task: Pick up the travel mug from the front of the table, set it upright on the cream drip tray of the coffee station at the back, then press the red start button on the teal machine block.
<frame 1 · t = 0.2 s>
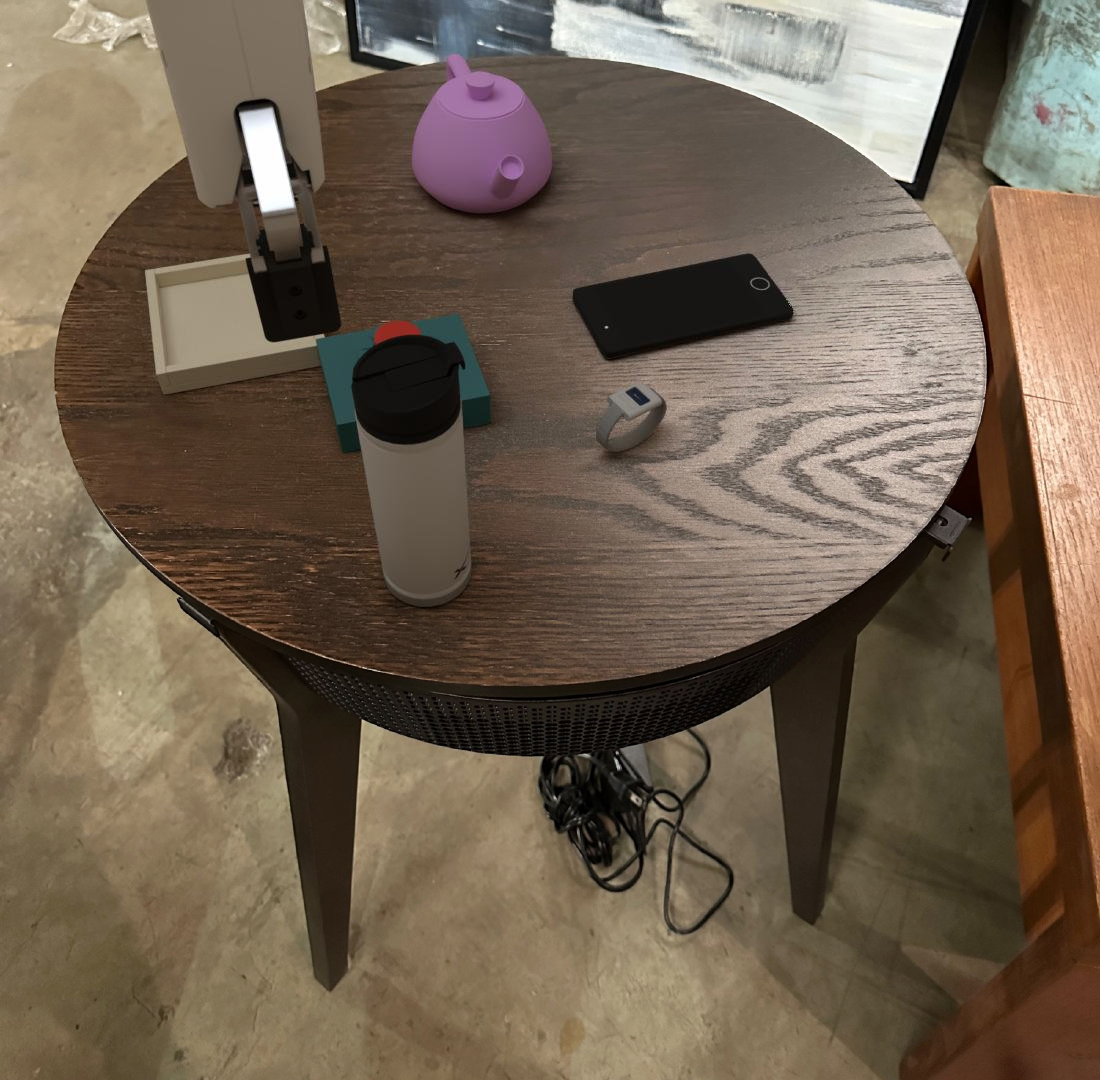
hand: (287, 263, 46), 30 cm above the table, tool pointing down, fingers open, 9 cm apart
drip tray: (238, 326, 89), on the table
wristwatch: (628, 444, 82), on the table
machine block: (404, 395, 84), on the table
cell phone: (681, 310, 92), on the table
start button: (398, 344, 80), point 5 cm above the table, slide at 0.1 cm
travel mug: (430, 573, 74), on the table
teapot: (485, 186, 103), on the table
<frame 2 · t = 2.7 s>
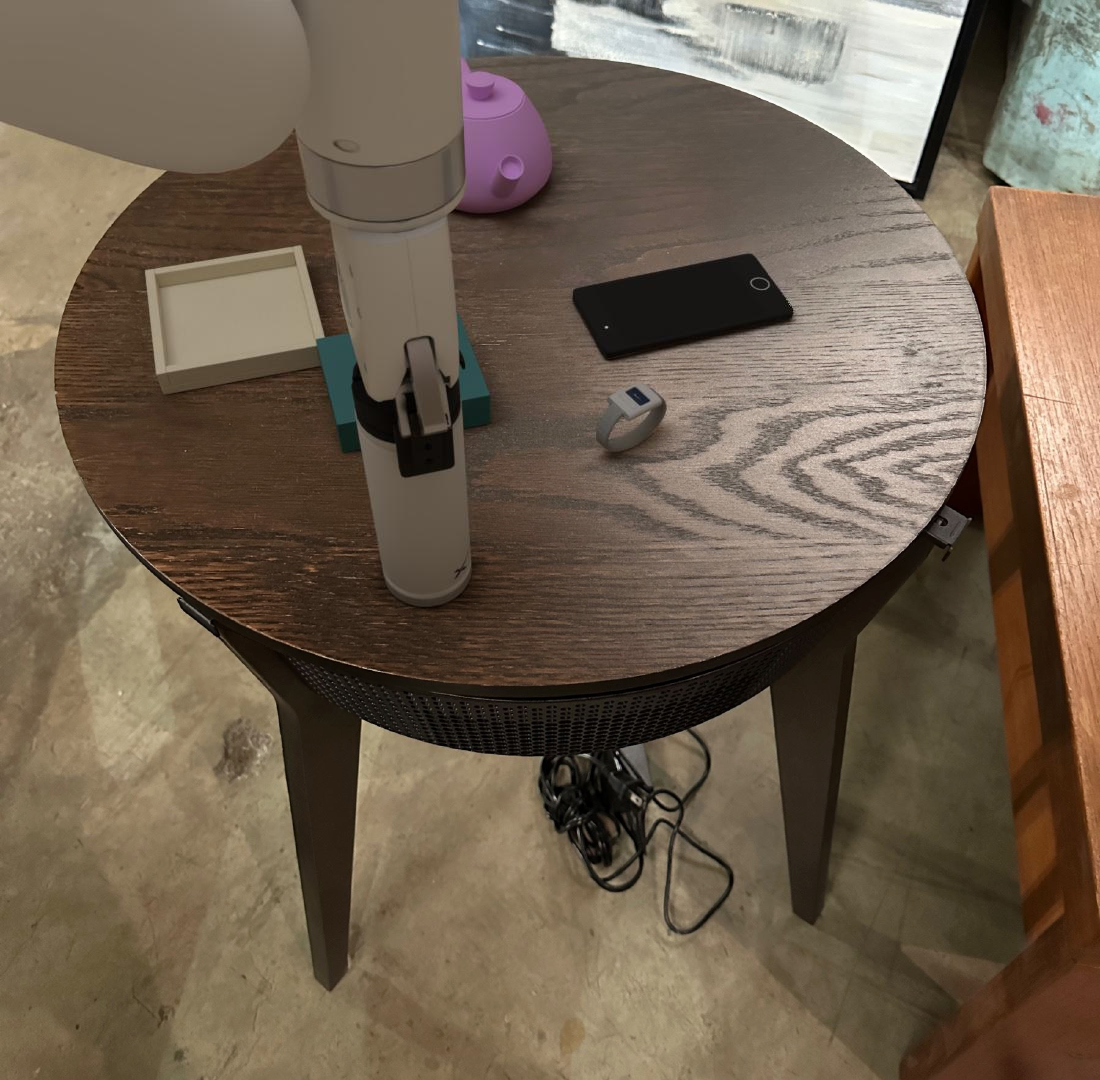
hand: (413, 425, 62), 15 cm above the table, tool pointing down, fingers closed on travel mug, 6 cm apart
travel mug: (430, 573, 74), on the table, touching gripper
everything else where it was.
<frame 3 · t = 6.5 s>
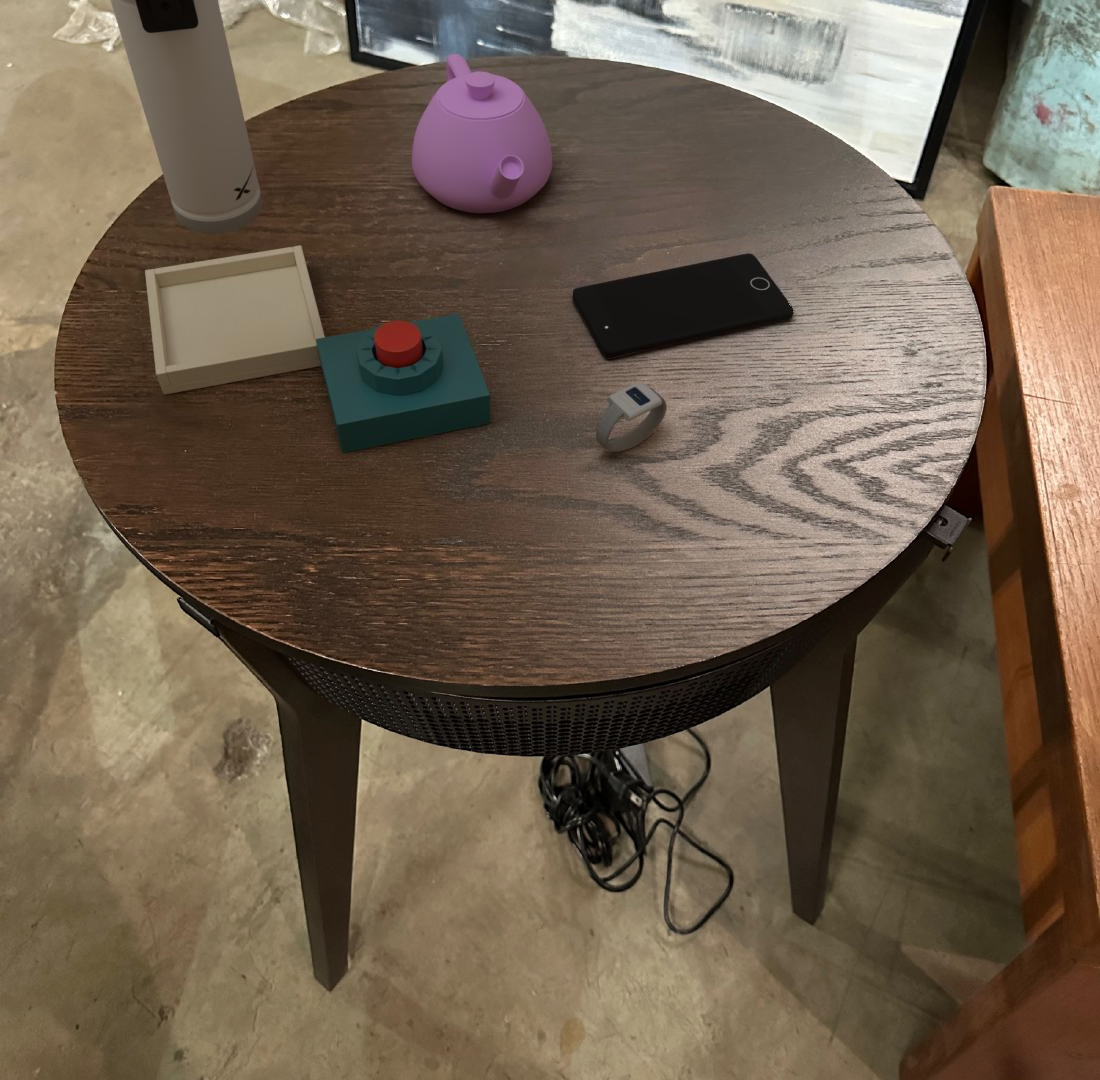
travel mug: (222, 211, 75), point 14 cm above the table, touching gripper
everything else where it was.
when the fingers open (16 cm above the table, at t = 10.4 s): travel mug stays where it is, resting on drip tray.
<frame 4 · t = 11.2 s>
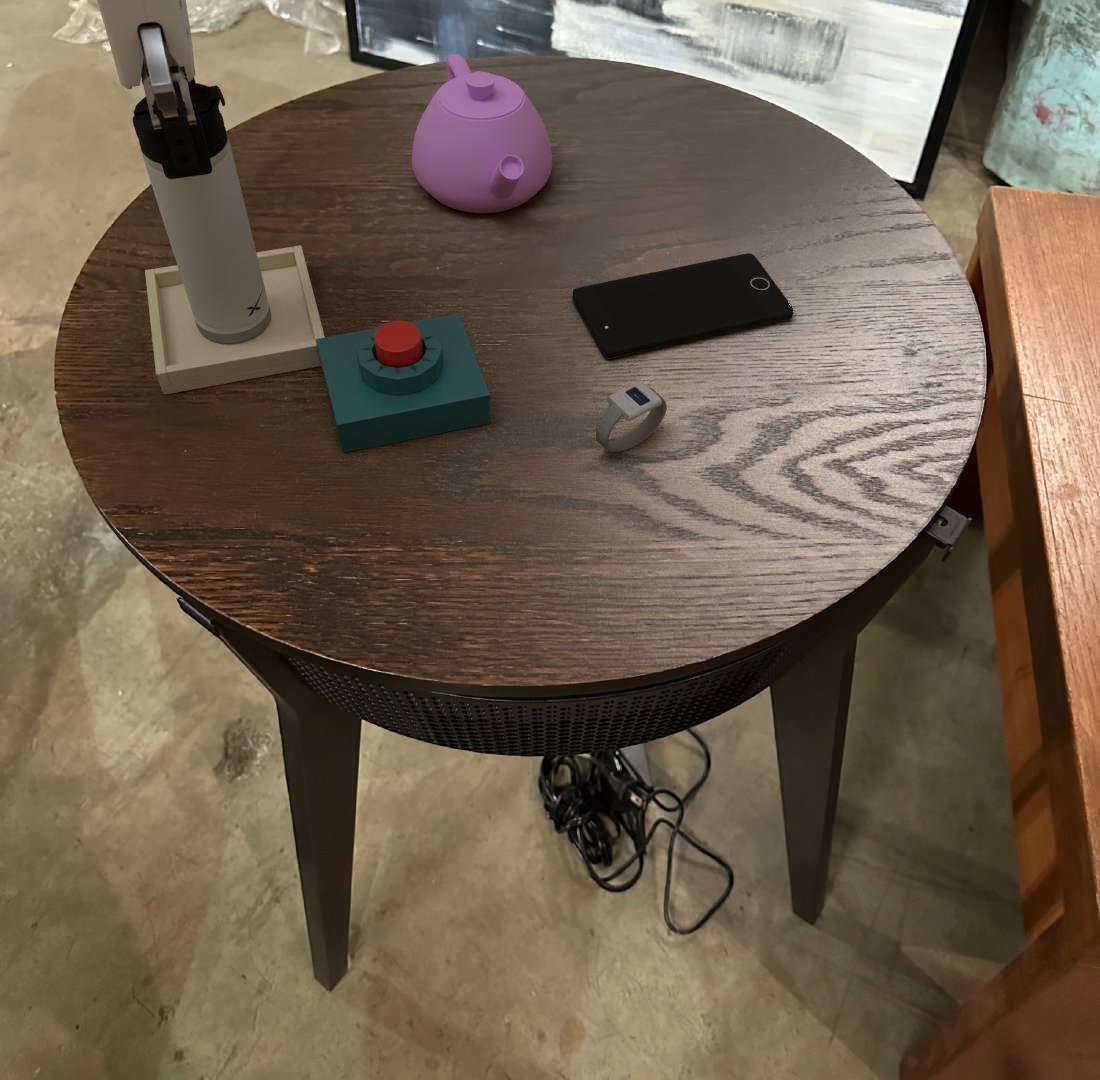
hand: (183, 137, 74), 18 cm above the table, tool pointing down, fingers open, 9 cm apart
travel mug: (237, 321, 88), point 1 cm above the table, touching drip tray
everything else where it was.
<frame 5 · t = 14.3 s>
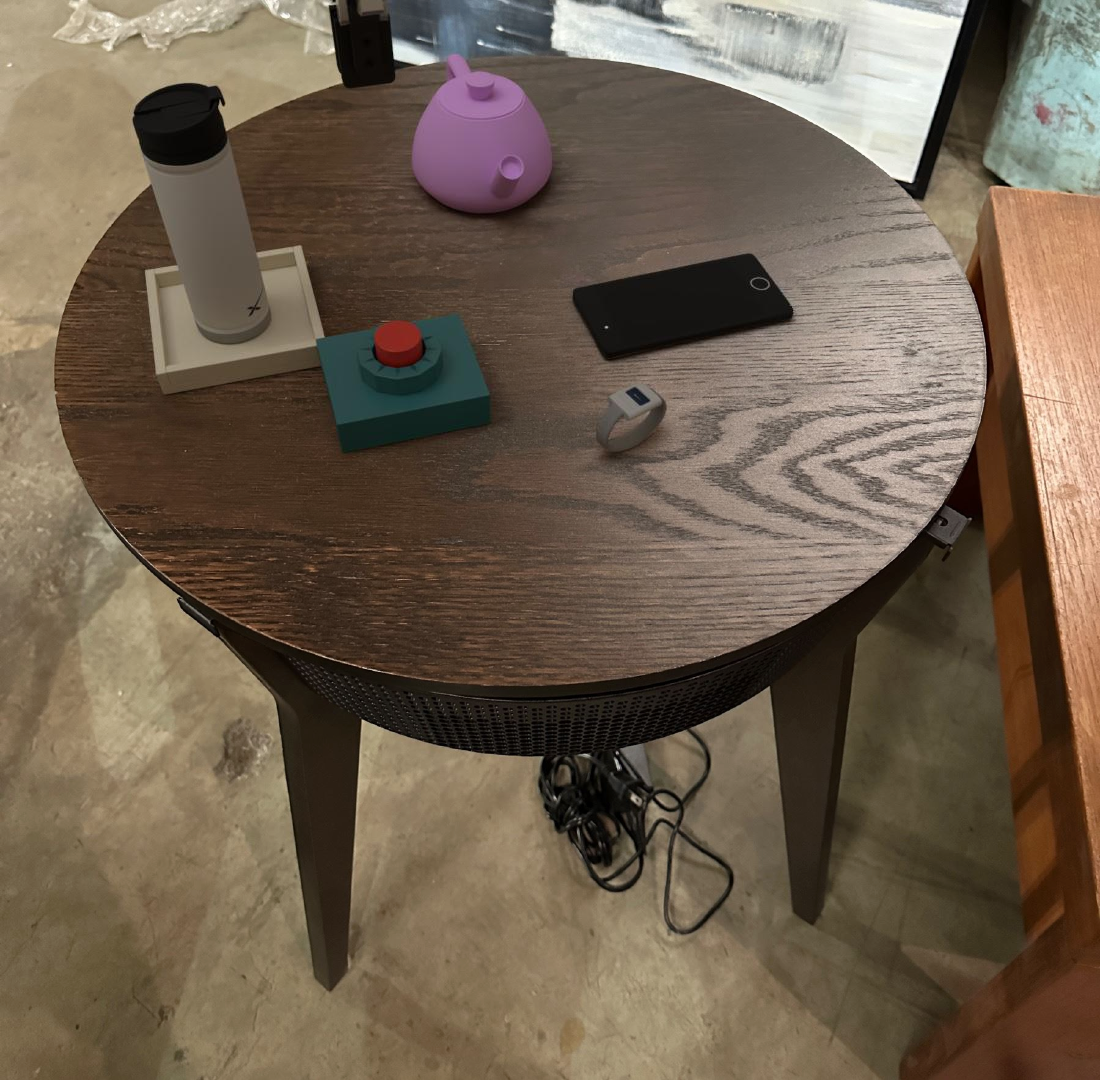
hand: (366, 75, 63), 27 cm above the table, tool pointing down, fingers closed
nothing on the table moved.
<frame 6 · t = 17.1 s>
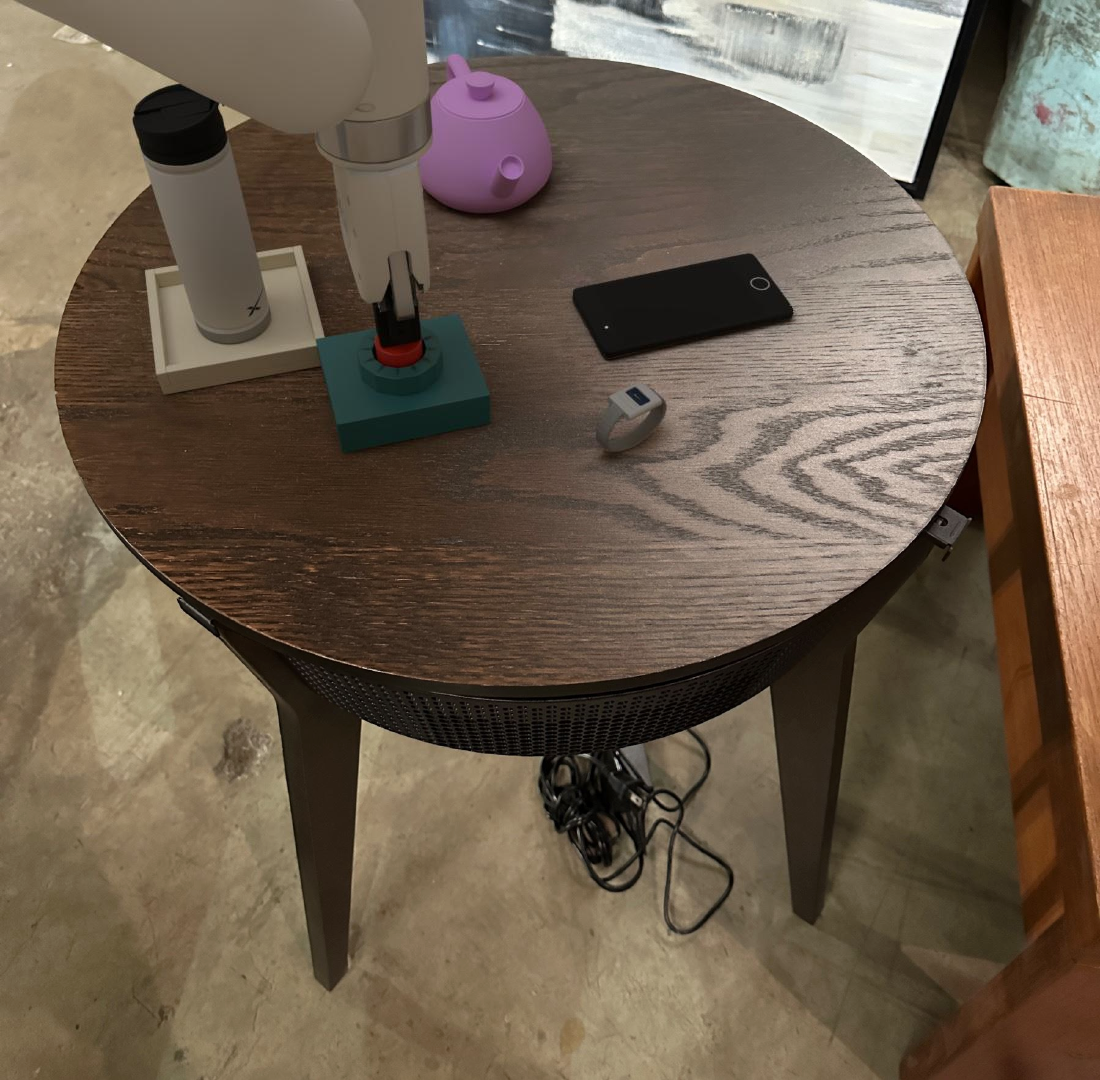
hand: (399, 337, 80), 6 cm above the table, tool pointing down, fingers closed
start button: (398, 347, 80), point 5 cm above the table, slide at -0.2 cm, touching gripper
everything else where it was.
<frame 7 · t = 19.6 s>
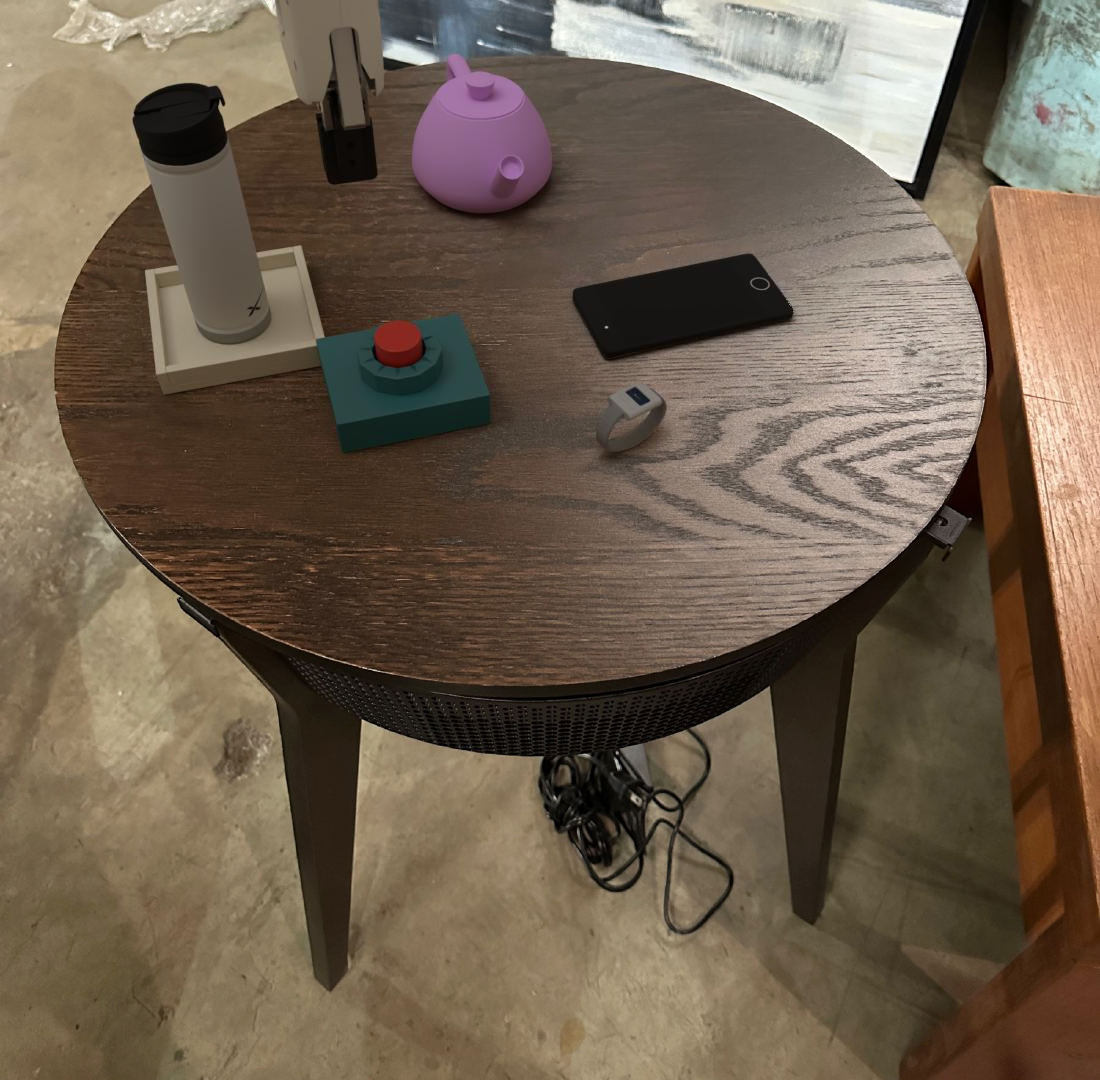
hand: (351, 174, 66), 21 cm above the table, tool pointing down, fingers closed
start button: (398, 344, 80), point 5 cm above the table, slide at 0.1 cm
everything else where it was.
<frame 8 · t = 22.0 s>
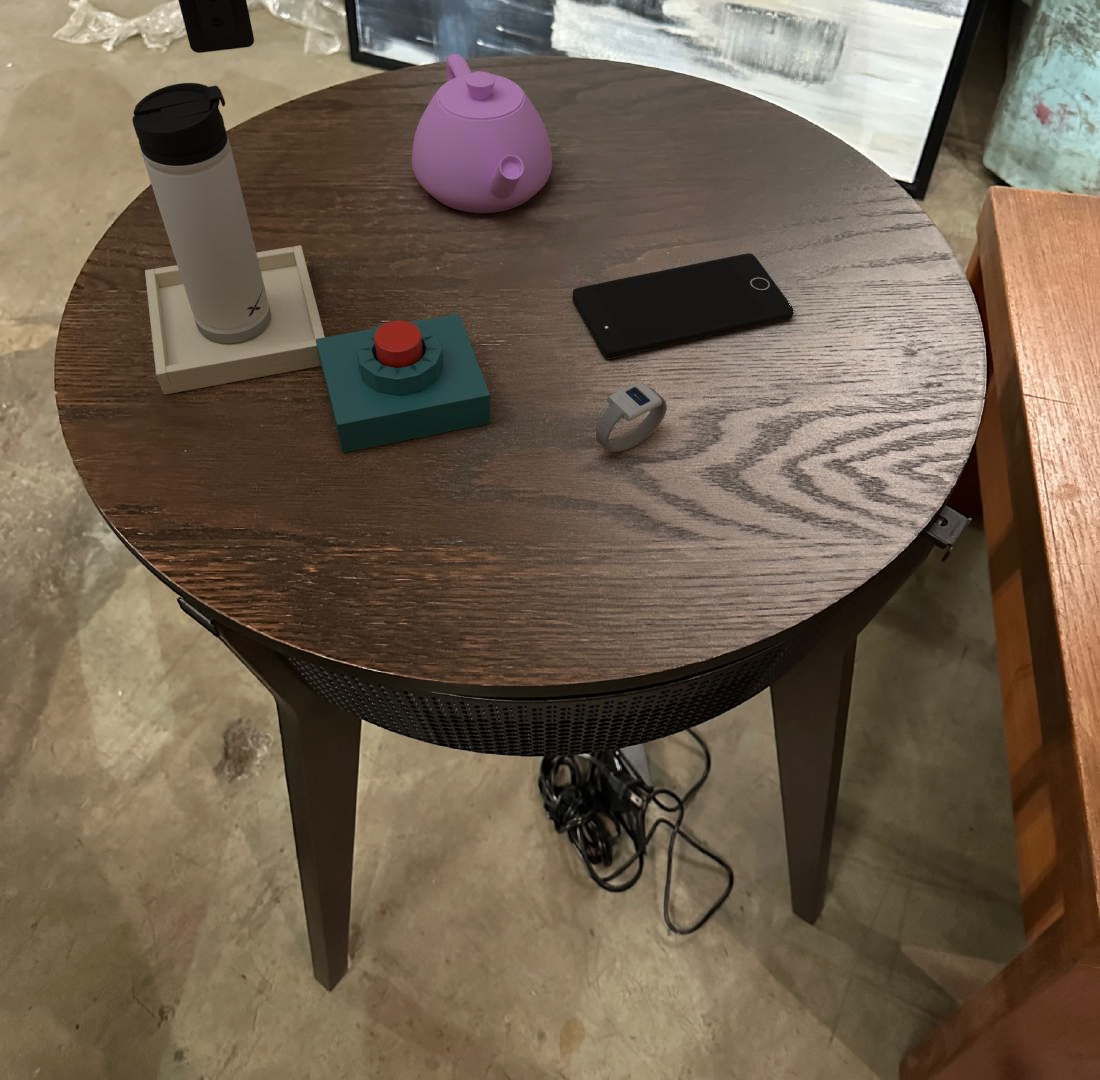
hand: (222, 41, 53), 33 cm above the table, tool pointing down, fingers closed
nothing on the table moved.
at the end: travel mug inside the target area in the drip tray (0.1 cm from its centre), point 0.6 cm above the drip tray's base; start button pushed in 1.1 cm at the most during the clip, back to where it started at the end; start button slide at 0.1 cm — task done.
